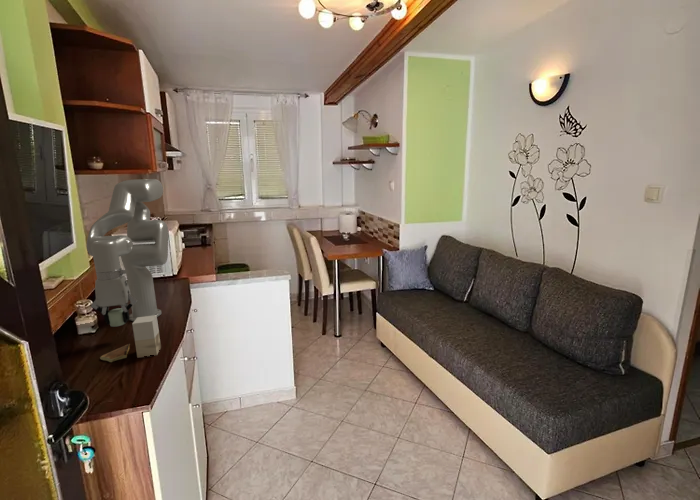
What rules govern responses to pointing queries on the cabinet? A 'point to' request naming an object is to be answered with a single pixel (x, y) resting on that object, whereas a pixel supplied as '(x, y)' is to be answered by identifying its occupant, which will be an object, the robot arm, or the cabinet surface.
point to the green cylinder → (116, 317)
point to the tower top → (145, 327)
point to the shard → (116, 354)
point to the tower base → (148, 346)
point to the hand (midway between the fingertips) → (117, 321)
